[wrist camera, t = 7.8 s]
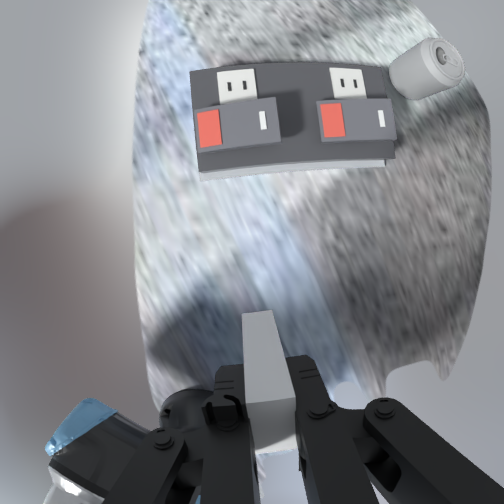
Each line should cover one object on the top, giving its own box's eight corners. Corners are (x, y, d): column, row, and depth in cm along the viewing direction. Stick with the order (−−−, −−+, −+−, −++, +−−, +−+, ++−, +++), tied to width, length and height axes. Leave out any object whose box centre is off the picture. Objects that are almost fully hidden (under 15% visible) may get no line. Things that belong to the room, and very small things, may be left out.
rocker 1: (282, 143, 31) (280, 141, 29) (203, 154, 32) (197, 152, 30) (276, 101, 30) (275, 96, 27) (199, 113, 31) (193, 109, 29)
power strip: (382, 167, 39) (400, 165, 33) (200, 181, 38) (195, 181, 33) (368, 72, 35) (383, 60, 30) (190, 78, 35) (184, 64, 29)
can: (387, 53, 34) (426, 24, 23) (424, 71, 35) (468, 50, 23) (384, 90, 36) (427, 67, 24) (422, 108, 37) (470, 93, 25)
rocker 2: (393, 141, 31) (397, 139, 29) (321, 143, 33) (321, 141, 31) (387, 102, 30) (391, 98, 27) (316, 104, 32) (316, 100, 30)
